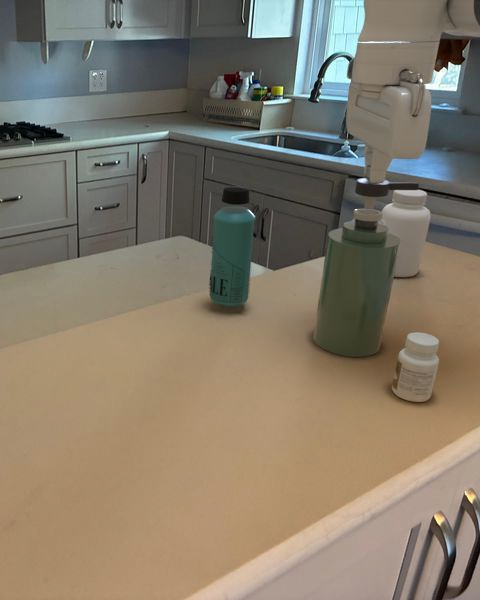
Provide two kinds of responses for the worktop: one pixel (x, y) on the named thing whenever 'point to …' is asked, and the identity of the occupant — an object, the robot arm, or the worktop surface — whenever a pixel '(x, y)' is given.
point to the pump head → (380, 189)
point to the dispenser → (356, 286)
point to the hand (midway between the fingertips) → (373, 181)
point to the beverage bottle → (232, 249)
